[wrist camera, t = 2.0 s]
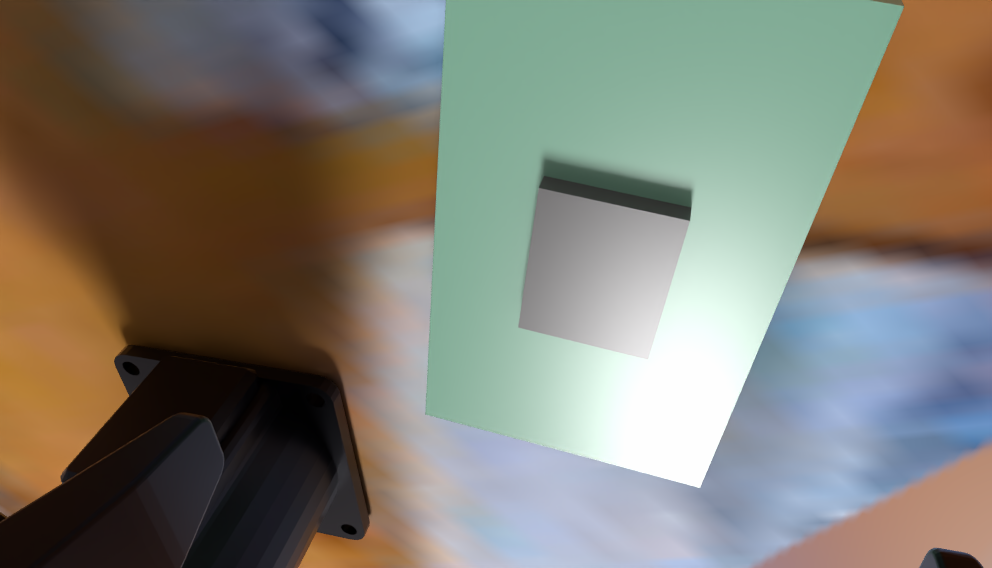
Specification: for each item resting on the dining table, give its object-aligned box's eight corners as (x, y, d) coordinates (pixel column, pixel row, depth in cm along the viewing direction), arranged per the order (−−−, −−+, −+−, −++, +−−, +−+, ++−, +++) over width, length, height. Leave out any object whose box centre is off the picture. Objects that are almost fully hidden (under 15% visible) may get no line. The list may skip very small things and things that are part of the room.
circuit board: (705, 405, 18) (698, 503, 16) (457, 343, 19) (419, 427, 17) (879, -45, 12) (909, 16, 9) (494, -108, 12) (440, -65, 10)
